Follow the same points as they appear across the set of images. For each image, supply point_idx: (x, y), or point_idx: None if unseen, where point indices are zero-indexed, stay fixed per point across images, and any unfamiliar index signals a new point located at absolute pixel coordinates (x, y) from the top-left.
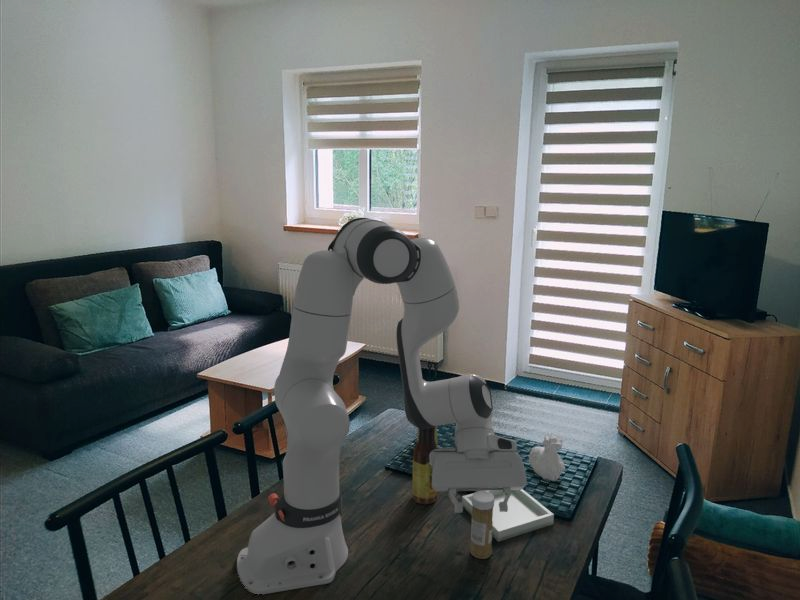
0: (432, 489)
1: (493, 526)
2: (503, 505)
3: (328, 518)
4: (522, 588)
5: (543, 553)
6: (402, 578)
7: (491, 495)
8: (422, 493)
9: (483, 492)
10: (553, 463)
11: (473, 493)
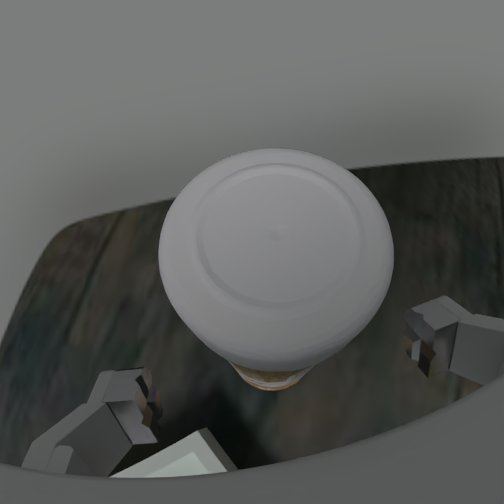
0: None
1: (220, 463)
2: (118, 383)
3: None
4: (150, 218)
5: (67, 374)
6: (456, 199)
7: (183, 260)
8: None
9: (279, 301)
10: None
11: (390, 274)
